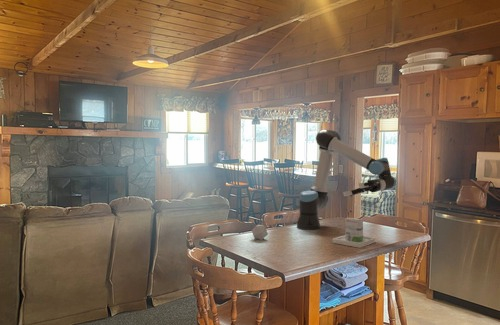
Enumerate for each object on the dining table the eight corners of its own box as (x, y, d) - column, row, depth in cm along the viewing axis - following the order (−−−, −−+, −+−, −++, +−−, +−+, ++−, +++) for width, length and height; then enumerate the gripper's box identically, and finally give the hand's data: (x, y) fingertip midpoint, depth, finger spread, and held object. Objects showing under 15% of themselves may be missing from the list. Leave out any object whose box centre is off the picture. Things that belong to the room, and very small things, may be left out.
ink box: (363, 240, 205) (363, 219, 204) (358, 242, 201) (358, 220, 201) (349, 238, 211) (350, 216, 211) (344, 239, 208) (344, 217, 208)
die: (270, 240, 213) (267, 224, 218) (265, 235, 206) (262, 219, 211) (257, 244, 214) (254, 229, 220) (251, 240, 207) (248, 224, 213)
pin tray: (332, 242, 205) (332, 234, 205) (349, 237, 218) (349, 229, 218) (360, 247, 194) (360, 238, 194) (375, 242, 207) (375, 233, 207)
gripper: (394, 183, 217) (369, 188, 206) (364, 198, 237) (339, 203, 226) (388, 171, 219) (364, 175, 208) (359, 186, 239) (335, 191, 228)
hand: (351, 190), depth 217 cm, fingers open, 13 cm apart
